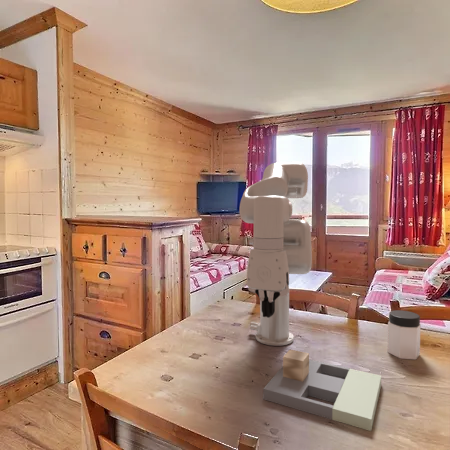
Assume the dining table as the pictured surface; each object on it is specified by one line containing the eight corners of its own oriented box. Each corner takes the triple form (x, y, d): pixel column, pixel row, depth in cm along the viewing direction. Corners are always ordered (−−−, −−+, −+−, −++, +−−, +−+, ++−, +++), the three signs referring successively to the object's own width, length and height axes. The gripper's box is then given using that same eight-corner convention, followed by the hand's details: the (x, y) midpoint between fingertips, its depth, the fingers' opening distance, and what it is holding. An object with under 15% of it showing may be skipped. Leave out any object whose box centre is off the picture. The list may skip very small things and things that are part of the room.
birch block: (283, 376, 85) (283, 356, 84) (289, 368, 89) (289, 349, 89) (303, 381, 82) (303, 361, 82) (308, 372, 87) (309, 353, 86)
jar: (392, 345, 109) (393, 308, 109) (421, 352, 104) (422, 313, 103) (384, 354, 103) (385, 315, 102) (415, 362, 97) (416, 321, 97)
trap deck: (263, 399, 79) (263, 388, 79) (291, 364, 97) (291, 355, 96) (371, 431, 68) (371, 418, 68) (381, 385, 85) (381, 375, 85)
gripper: (235, 244, 88) (235, 315, 89) (292, 247, 80) (291, 325, 81) (248, 242, 94) (248, 308, 95) (301, 244, 87) (301, 316, 88)
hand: (268, 315), depth 88 cm, fingers closed
